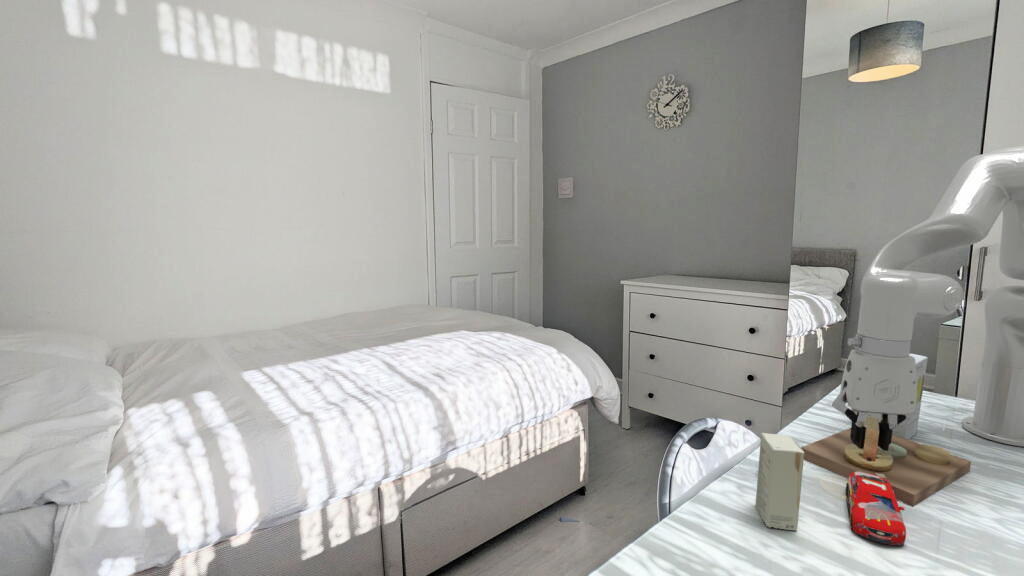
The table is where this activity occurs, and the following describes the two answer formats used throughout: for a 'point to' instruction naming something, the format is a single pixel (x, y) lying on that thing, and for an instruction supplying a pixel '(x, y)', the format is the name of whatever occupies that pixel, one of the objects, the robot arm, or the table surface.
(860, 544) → the table surface
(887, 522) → the race car
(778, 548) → the table surface
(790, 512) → the skincare box
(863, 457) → the wing knob
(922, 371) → the supplement box
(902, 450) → the brown flat rectangular board
